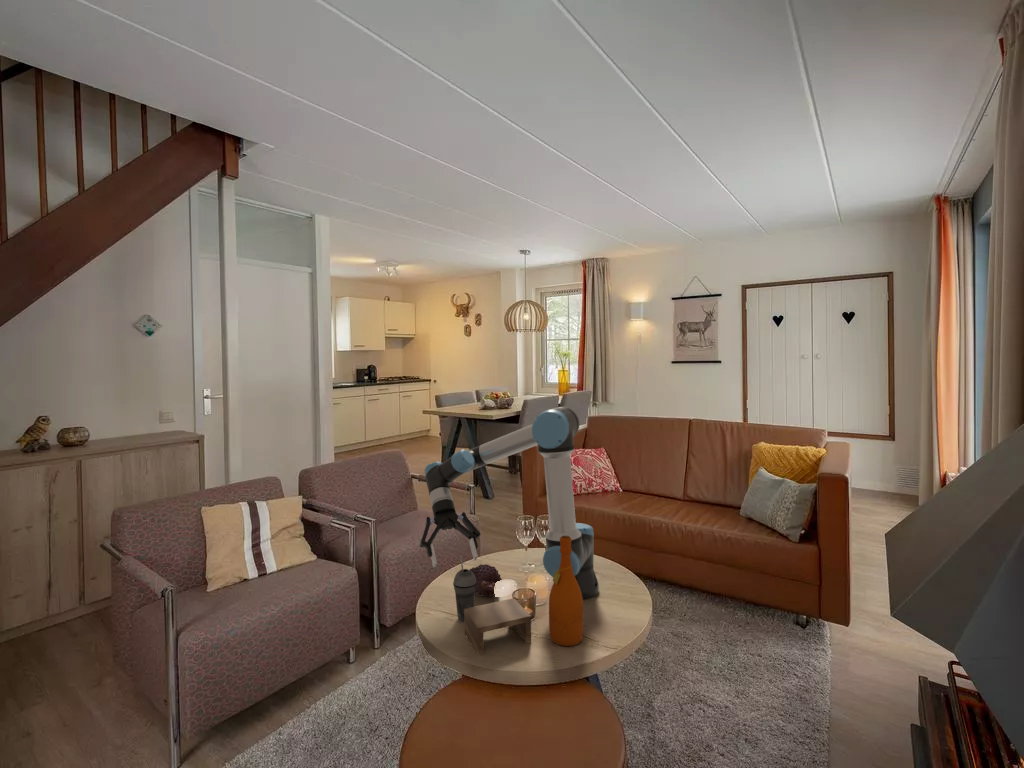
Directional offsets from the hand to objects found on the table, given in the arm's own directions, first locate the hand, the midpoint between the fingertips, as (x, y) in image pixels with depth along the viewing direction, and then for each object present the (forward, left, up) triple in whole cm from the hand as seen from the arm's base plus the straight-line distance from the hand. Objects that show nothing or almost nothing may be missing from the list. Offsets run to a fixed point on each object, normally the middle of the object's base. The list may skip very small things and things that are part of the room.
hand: (455, 562), depth 164 cm
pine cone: (-13, -7, -16) cm, 22 cm away
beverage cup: (-1, +7, -16) cm, 17 cm away
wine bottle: (-24, +29, -16) cm, 41 cm away
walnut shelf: (-6, +21, -16) cm, 27 cm away
